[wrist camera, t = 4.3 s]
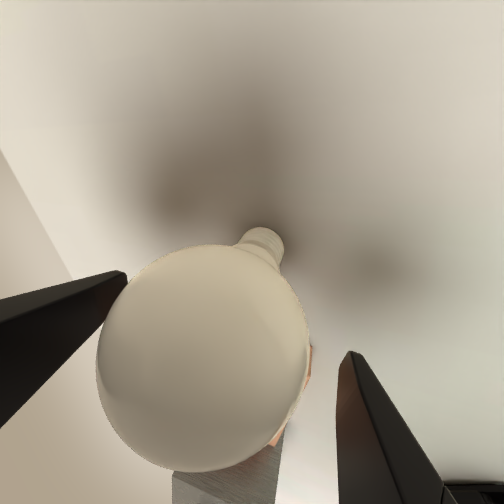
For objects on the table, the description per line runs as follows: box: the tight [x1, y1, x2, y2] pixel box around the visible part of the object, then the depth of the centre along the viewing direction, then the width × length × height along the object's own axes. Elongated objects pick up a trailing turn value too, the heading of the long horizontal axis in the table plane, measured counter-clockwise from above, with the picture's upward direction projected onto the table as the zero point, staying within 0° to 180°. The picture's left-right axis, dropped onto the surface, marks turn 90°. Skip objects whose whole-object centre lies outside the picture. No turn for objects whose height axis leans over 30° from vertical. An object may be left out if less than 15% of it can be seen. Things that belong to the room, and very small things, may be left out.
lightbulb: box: [96, 227, 310, 473], centre depth 10 cm, size 6×6×11 cm
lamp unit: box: [172, 427, 285, 504], centre depth 24 cm, size 18×8×9 cm, turn 170°
